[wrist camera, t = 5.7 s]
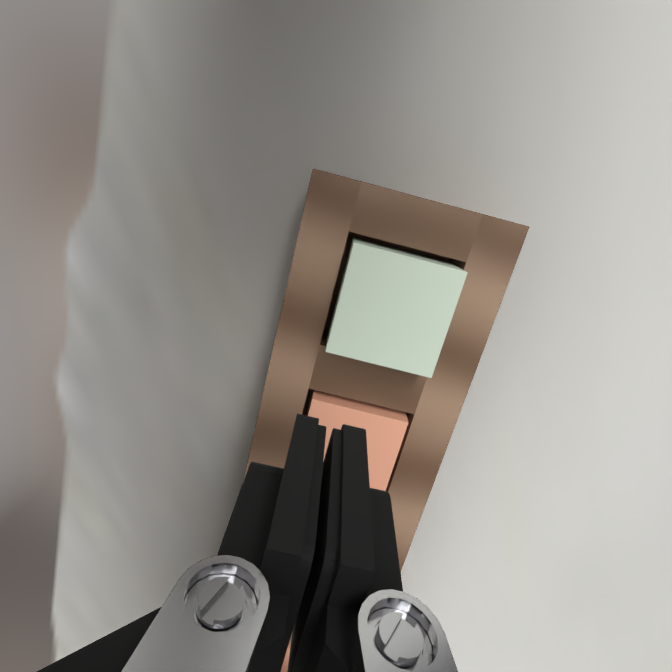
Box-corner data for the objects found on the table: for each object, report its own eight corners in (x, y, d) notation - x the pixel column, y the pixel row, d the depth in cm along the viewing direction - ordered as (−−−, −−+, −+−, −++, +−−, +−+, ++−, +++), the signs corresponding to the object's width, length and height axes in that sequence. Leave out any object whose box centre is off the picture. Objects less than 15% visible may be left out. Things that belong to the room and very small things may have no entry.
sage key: (352, 237, 21) (354, 242, 18) (450, 263, 21) (467, 272, 18) (328, 332, 22) (325, 351, 19) (420, 355, 23) (431, 378, 20)
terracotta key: (316, 375, 24) (312, 399, 21) (400, 395, 25) (408, 422, 22) (297, 449, 26) (290, 482, 23) (377, 468, 26) (381, 503, 23)
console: (318, 175, 23) (312, 167, 18) (498, 223, 23) (534, 227, 19) (216, 623, 32) (196, 688, 27) (348, 651, 32) (348, 720, 28)
